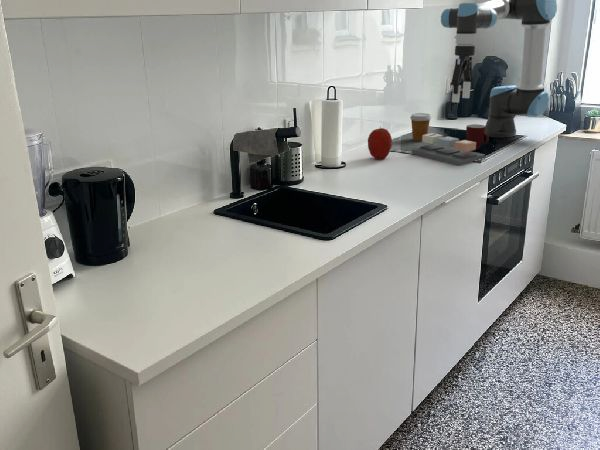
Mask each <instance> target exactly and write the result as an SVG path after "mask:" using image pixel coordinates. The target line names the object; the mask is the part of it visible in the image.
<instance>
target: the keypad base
mask: <svg viewBox="0 0 600 450" xmlns="http://www.w3.org/2000/svg"><path fill="white" fill-rule="evenodd" d="M411 155H413V156H414V155H416V156H418V157H423V158H425V159H431V160H435V161H439V162H442V163H445V164H450V165H454V166H458V167H459V166H462V165H467V164H471V163H474V162H473V161H475V160H479V159H482V158H485V159H486V154H484V153H480V152H476V151H473V150H472V151H467V152H464V151H460V150H455V149H454V147H451V148H447V147H442V146H438V143H436V144H426V145H422V146H419V147H418V148H412V149H411Z"/></svg>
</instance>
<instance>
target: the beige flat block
mask: <svg viewBox="0 0 600 450" xmlns="http://www.w3.org/2000/svg"><path fill="white" fill-rule="evenodd" d="M454 149H455V150H460V151H464V152H467V151H472V152H473V151H476V150H477V149H476V142H472V141H467V139H463V140H459V141H457V142H455V145H454Z"/></svg>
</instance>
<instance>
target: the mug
mask: <svg viewBox="0 0 600 450" xmlns="http://www.w3.org/2000/svg"><path fill="white" fill-rule="evenodd" d="M485 127H486V126H485V124H484V125H483V124H476V123H475V124H468V125H466V128H465V133H466V134H465V136H466V140H467V141H472V142H476V150H479V149H480V148H481V146H482V145H486V144H488V143H489V140H490V137H489V136H488V134H486V133H485ZM484 138H485V141H484Z"/></svg>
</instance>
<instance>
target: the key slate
mask: <svg viewBox="0 0 600 450" xmlns="http://www.w3.org/2000/svg"><path fill="white" fill-rule="evenodd" d="M457 141H460V138H457V137H453V136H443V138H438V143H437V144H438V146H442V147H447V148H451V147H454V145H455V142H457Z"/></svg>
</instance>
